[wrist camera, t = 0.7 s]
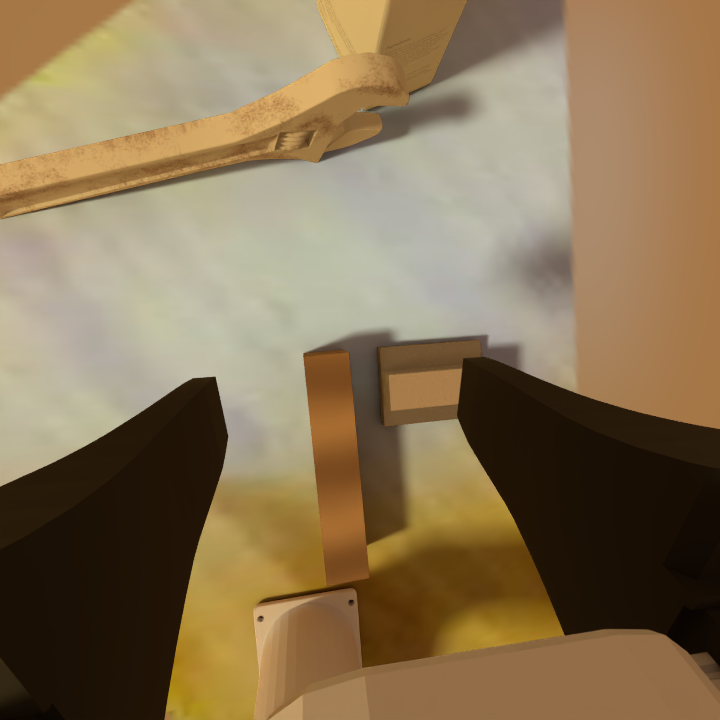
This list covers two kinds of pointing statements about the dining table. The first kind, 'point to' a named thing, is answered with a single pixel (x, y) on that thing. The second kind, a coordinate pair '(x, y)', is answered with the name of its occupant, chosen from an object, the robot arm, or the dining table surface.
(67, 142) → the dining table surface
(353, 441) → the walnut bar
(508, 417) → the robot arm
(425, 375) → the ridge
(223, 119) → the wrench
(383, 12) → the skincare box
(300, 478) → the dining table surface
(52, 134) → the dining table surface
